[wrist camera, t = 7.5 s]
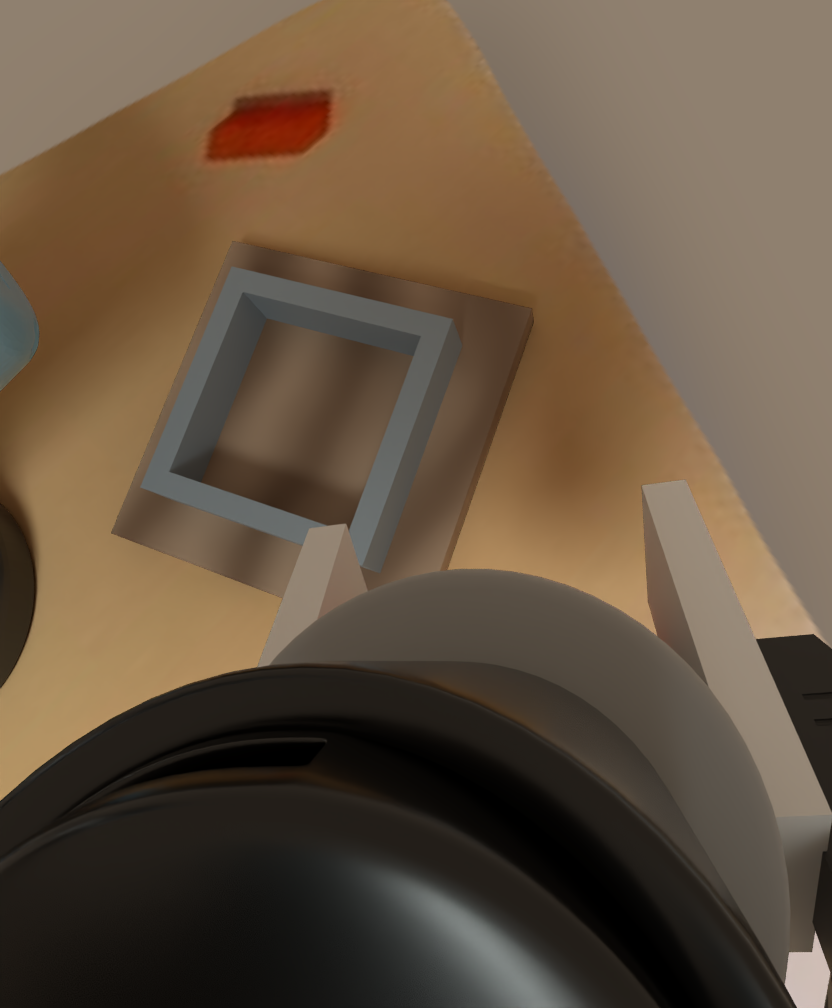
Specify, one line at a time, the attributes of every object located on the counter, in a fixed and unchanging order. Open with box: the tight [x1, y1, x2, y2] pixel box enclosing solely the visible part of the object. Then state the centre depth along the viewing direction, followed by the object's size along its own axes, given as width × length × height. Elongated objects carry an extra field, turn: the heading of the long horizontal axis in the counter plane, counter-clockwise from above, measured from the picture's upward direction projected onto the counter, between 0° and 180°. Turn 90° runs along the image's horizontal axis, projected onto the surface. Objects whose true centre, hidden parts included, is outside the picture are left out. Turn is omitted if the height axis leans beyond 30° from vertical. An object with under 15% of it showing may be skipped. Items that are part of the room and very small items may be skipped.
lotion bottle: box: [0, 569, 797, 1008], centre depth 11 cm, size 6×6×20 cm
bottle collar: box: [140, 267, 462, 573], centre depth 36 cm, size 12×12×3 cm
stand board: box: [111, 241, 534, 598], centre depth 38 cm, size 18×18×2 cm
